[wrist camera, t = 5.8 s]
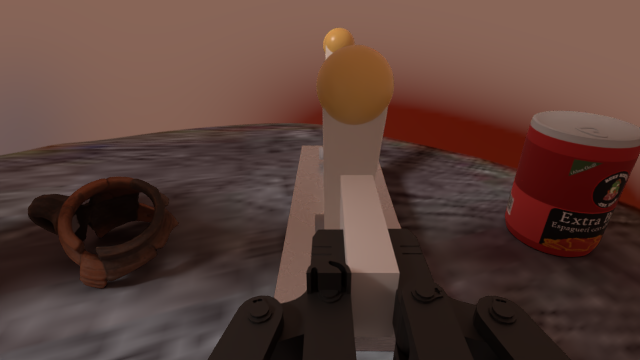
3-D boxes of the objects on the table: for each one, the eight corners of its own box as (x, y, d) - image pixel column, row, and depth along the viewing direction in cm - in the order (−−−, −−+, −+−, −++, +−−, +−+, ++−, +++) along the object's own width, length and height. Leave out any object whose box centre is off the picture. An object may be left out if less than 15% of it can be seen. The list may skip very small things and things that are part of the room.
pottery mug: (190, 219, 37) (187, 174, 30) (164, 309, 31) (153, 277, 25) (67, 200, 34) (35, 147, 28) (13, 294, 29) (-42, 254, 22)
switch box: (277, 349, 22) (272, 304, 20) (305, 156, 50) (305, 130, 49) (426, 351, 22) (435, 305, 20) (370, 156, 50) (371, 130, 48)
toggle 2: (315, 249, 25) (304, 76, 13) (316, 208, 27) (307, 29, 16) (374, 249, 25) (416, 75, 13) (370, 208, 27) (403, 28, 16)
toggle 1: (318, 157, 36) (319, 21, 37) (319, 161, 40) (320, 37, 41) (360, 157, 36) (359, 21, 37) (357, 161, 40) (356, 37, 41)
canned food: (546, 266, 29) (592, 143, 24) (485, 216, 36) (511, 113, 31) (619, 252, 30) (676, 134, 25) (546, 206, 37) (580, 107, 32)
